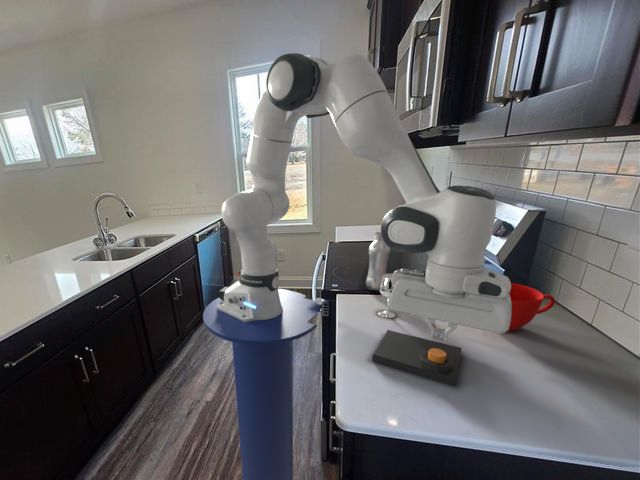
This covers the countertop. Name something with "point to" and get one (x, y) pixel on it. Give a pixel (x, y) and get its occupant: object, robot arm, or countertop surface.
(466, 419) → the countertop surface
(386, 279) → the wineglass
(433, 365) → the dark grey button box
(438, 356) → the button
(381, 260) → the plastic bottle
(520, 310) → the ceramic cup
